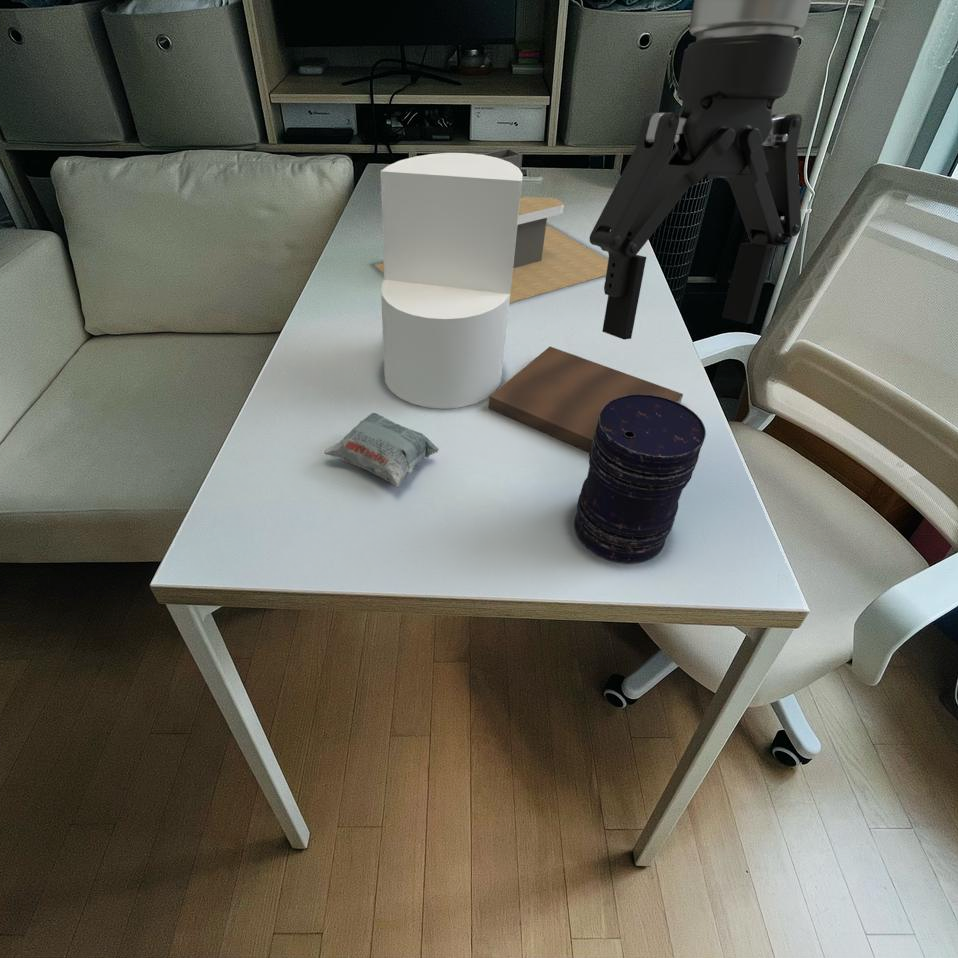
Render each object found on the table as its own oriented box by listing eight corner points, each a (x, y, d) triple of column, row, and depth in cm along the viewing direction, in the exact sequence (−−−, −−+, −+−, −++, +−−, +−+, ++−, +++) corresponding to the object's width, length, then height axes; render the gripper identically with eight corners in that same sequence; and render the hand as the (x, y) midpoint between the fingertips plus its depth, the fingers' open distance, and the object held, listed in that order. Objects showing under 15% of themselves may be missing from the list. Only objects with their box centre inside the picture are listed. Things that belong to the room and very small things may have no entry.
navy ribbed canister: (618, 487, 78) (649, 382, 68) (686, 540, 72) (730, 432, 62) (554, 520, 75) (575, 415, 65) (618, 578, 68) (654, 471, 58)
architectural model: (542, 222, 136) (556, 116, 123) (625, 269, 119) (652, 152, 105) (374, 264, 126) (368, 154, 112) (438, 323, 108) (441, 200, 95)
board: (679, 406, 89) (683, 393, 88) (625, 468, 81) (629, 455, 79) (548, 357, 99) (549, 346, 98) (488, 408, 91) (489, 396, 89)
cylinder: (404, 336, 106) (402, 149, 87) (512, 351, 101) (534, 157, 82) (367, 397, 94) (355, 196, 75) (487, 418, 89) (506, 208, 70)
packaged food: (398, 501, 78) (398, 470, 75) (323, 463, 84) (320, 433, 81) (439, 462, 83) (441, 431, 80) (366, 429, 89) (364, 399, 86)
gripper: (815, 50, 55) (748, 305, 65) (568, 36, 47) (533, 330, 57) (909, 39, 49) (819, 323, 59) (643, 21, 41) (590, 354, 51)
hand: (678, 327), depth 58 cm, fingers open, 13 cm apart
